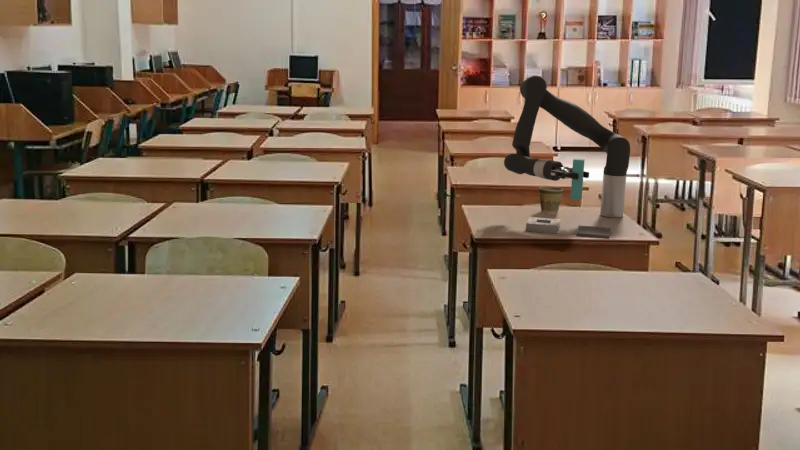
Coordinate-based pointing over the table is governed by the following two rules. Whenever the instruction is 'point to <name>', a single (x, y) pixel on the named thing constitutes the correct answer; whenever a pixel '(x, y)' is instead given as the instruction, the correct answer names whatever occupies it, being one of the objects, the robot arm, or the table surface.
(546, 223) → the socket block
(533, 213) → the table surface
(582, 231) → the rubber mat
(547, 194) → the ceramic cup
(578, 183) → the teal peg
